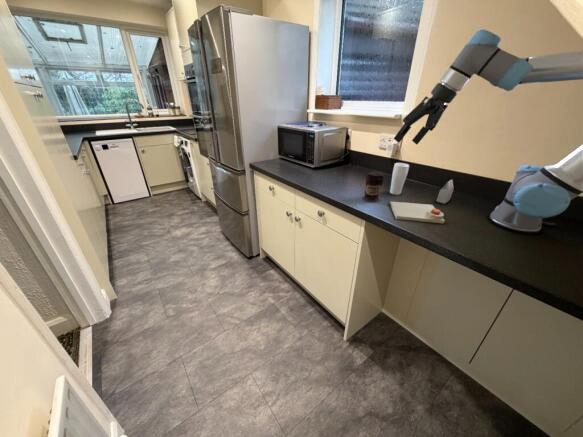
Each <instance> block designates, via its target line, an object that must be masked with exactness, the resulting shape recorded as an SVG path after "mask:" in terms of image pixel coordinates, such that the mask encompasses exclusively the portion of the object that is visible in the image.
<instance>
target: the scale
mask: <svg viewBox="0 0 583 437" xmlns="http://www.w3.org/2000/svg"><path fill="white" fill-rule="evenodd" d="M389 206H390V208H391V210H392V213H393V215H394V218H395V219H396V220H403V221H412V222H413V221H415V222H423V223H425V222H426V223H435V224H445V222H446V221H445V219H444V216H445V214H444V213H443V211H440V214H439V215H435V214H432V213H431V211H432V209H436V207H435V206H434V205H433V204H428V203H427V204H426V203H413V202H403V201H402V202H401V201H389Z"/></svg>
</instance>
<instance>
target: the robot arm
mask: <svg viewBox="0 0 583 437" xmlns="http://www.w3.org/2000/svg"><path fill="white" fill-rule="evenodd" d="M501 41H502V37H500V36H499V35H497V34H495V33H493V32H492V31H489V30H487V29H479V30H477V31H476V32H475V33H474V34H473V36H472V37H471V38H470V40H469V41H468V42H467V43H465V45H464V47H463V48H462V50H461V51H460V52H459V54H458V55H457V56H456V58H455V59H454V61H453V62H452V63H451V65H449V67H448V69H447V70H446V71H444V74H443V75H442V77H441V78H440V82H437V83H436V84H435V86H434V87H433V89H432V90H431V91H430V94H431V95H432V96H431V97H428V96H425V97H424V98H423V99H422V100H421V101H420V102H419V103H418V104H417V105H416V106H415V107H414V108H413V109H412V110H411V111H410V112H409V113H408V114H407V115H406V116H405V117H404V118H402V122H403V123H404V124H403V125H402V126H401V128H400V129H399V131H397V133H396V134H395V136H394V137H393V140H395V142H397V143H398V144H399V143H401V141H402V140H403V139H404V137H405V136H406V135H407V134H408V132H409V131H410V129H411V128H412V125H414V124H416V122H418V121H419V120H421V119H422V118H423V117H425V116H427V118H426V122H425V125H424V126H422V127H421V128H420V130H419V131H418V132H417V133H416V134H415V135H414V137H413V138H412V139H411V142H413V143H414V144H415V145H419V143H420V142H421V141H422V139H423V138H424V137H425V136H426V135H427V134H428V132H432V131H434V129H435V128H436V127H437V126H438V123H439V121H440V120H441V117H442V116H443V115H444V112H445V111H446V110H447V108H448V107H449V105H448V104H450V103H452V101H453V100H454V99H456V97H457V95H458V92H461V91H462V90H463V88H464V87H465V86H466V85H467V83H468V82H469V81H470V79H471V78H472V77H473V76H474V75H476V76H478V77H480V78H482V79H484V80H485V81H487V82H489V84H490V85H491V86H493V87H497V88H499V89H502V90H505V91H506V92H511V91H513V90H514V89H515V88H516V87H517V86H518V85H527V84H541V83H554V82H565V81H567V82H568V81H579V80H580V81H581V80H583V50H576V51H569V52H559V53H553V54H544V55H536V56H530V57H518V56H516V55H514V54H512V53H510V52H507V51H506V50H503V49H502V48H500V47H499V45H500V43H501ZM581 194H583V144H581V145H580V146H579V147H577V149H575V150H573V151H572V152H570V154H568V155H567V156H565V157H564V158H562V159H561V160H560V161H559V162H558V163H555V164H550V165H545V166H540V165H532V164H523V165H521V166H520V167H519V168H518V169H517V171H516V174H515V175H514V178H513V180H512V182H511V184H510V186H509V188H508V190H507V192H506V195H505V196H504V199H503V201H502V202H501V203H500V204H499V205H496V207H495V208H494V210H493V211H492V212H491V213H490V215H489V216H488V219H489V220H490V222H491V223H493V224H494V225H496V226H498V227H500V228H502V229H506V230H508V231H511V232H515V233H520V234H528V235H533V234H538V233H539V232H540V231H541V229H542V226H543V225H545V226H550V227H551V226H553V227H555V226H556V223H555V222H546V221H543V219H545V218H546V219H547V218H552V217H555V216H558V215H561V213H563V212H565V211H566V210H567V208H568V207H569V206H570V203H571V201H572V200H573V199H575V198H577V197H578V196H580V195H581Z"/></svg>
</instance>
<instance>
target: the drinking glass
mask: <svg viewBox="0 0 583 437" xmlns="http://www.w3.org/2000/svg"><path fill="white" fill-rule="evenodd" d="M409 169H410V164H408V163H404V162H396V163H395V162H394V165H393V168H392V175H391V182H390V189H389V193H390V194H391V195H394V196H400V195H401V194H402V191H403V189H404V188H403V187H404V185H405V182H406V180H407V176H408V173H409Z"/></svg>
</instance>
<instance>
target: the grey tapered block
mask: <svg viewBox="0 0 583 437" xmlns="http://www.w3.org/2000/svg"><path fill="white" fill-rule="evenodd" d="M453 192H454V180H453V179H450V180H449V181H447V182H446V183H445V184H444V186H443V187H442V188H441V189H439V192H438V195H437V197H436V202H437V203H441V204H447V203H448V202H449V201H450V200H451V198H452V196H453Z"/></svg>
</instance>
